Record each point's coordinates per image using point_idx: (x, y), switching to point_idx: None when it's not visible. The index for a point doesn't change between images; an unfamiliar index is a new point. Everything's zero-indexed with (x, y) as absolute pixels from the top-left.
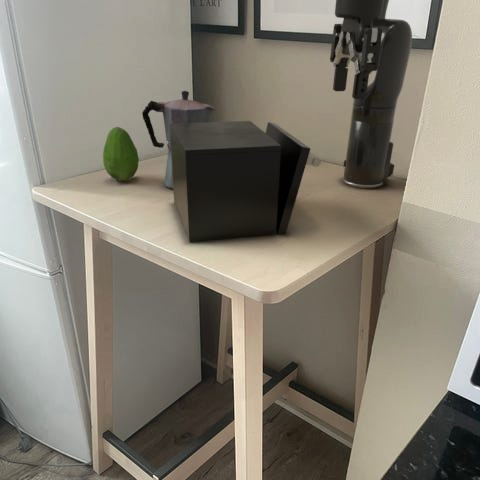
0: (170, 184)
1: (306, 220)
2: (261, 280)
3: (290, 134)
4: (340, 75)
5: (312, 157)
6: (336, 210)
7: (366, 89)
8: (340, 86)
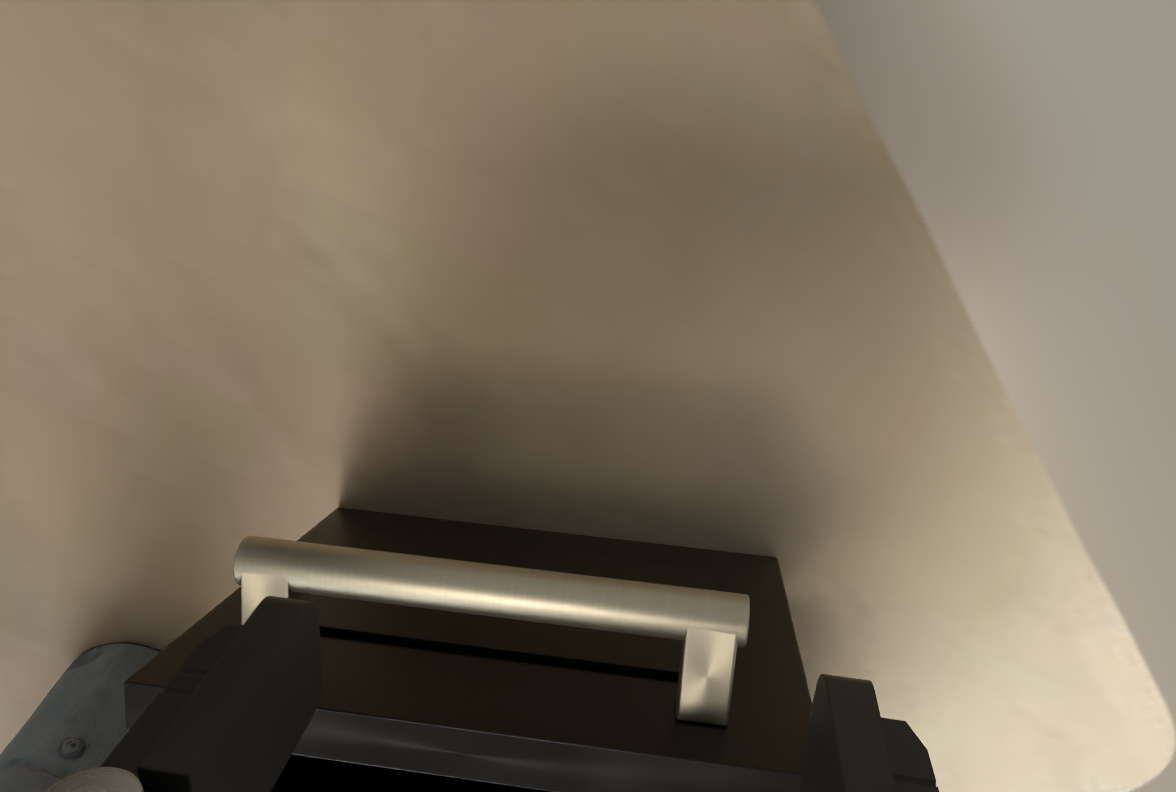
0: None
1: (652, 413)
2: (1097, 761)
3: (454, 731)
4: (247, 781)
5: (733, 661)
6: (566, 214)
7: (935, 780)
8: (297, 674)
